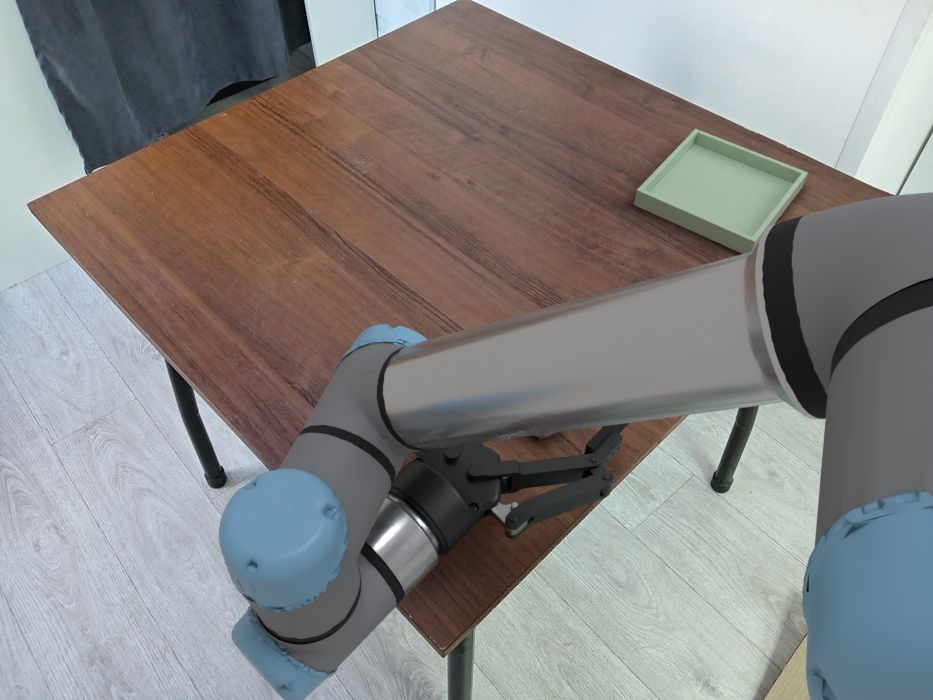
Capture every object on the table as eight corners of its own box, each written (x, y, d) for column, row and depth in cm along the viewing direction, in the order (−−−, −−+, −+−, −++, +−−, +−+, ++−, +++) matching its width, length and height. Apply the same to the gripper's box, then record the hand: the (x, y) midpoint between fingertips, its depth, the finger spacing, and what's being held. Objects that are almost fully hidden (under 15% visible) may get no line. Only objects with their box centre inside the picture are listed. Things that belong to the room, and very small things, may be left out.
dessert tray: (802, 187, 97) (808, 172, 95) (749, 257, 89) (755, 241, 88) (691, 143, 103) (695, 128, 101) (633, 205, 95) (636, 189, 94)
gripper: (316, 459, 71) (472, 326, 81) (527, 645, 60) (678, 466, 70) (301, 413, 65) (471, 276, 75) (532, 610, 54) (695, 420, 64)
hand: (571, 367), depth 72 cm, fingers open, 13 cm apart
